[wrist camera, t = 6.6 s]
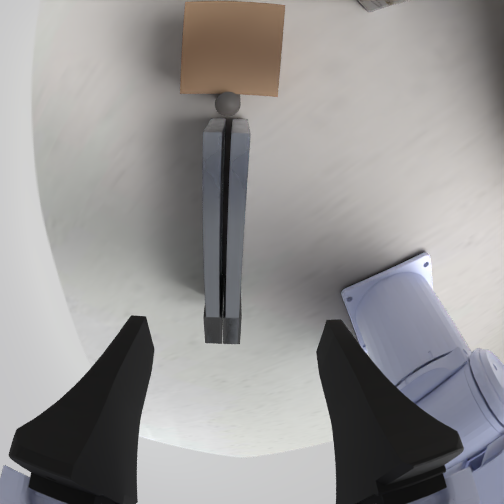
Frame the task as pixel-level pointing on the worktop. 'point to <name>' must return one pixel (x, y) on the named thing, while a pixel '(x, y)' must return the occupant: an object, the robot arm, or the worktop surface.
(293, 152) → the worktop surface
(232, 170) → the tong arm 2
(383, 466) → the robot arm
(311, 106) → the worktop surface
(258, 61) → the block
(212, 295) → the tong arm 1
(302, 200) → the worktop surface
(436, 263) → the worktop surface
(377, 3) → the coffee box
